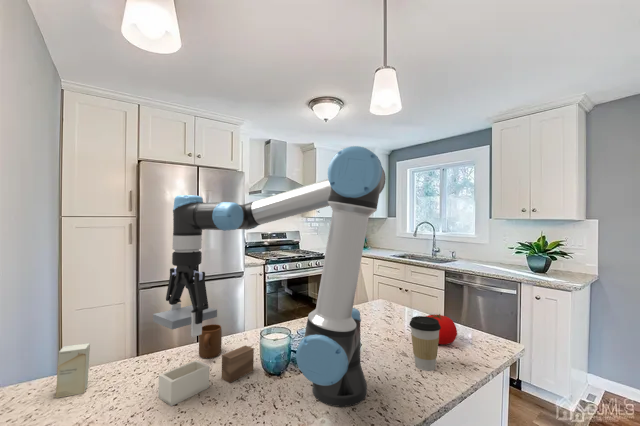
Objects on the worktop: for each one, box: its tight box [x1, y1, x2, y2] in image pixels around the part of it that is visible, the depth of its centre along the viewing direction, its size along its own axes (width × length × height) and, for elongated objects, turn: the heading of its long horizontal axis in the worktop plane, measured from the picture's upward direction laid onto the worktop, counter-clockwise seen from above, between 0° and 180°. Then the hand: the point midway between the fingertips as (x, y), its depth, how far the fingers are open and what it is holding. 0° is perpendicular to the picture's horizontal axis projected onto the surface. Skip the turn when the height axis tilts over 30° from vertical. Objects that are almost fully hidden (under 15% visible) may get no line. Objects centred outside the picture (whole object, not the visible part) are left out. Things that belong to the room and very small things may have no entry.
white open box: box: [157, 359, 211, 407], centre depth 83 cm, size 6×11×6 cm, turn 144°
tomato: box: [425, 313, 458, 346], centre depth 120 cm, size 14×13×10 cm
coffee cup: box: [409, 315, 441, 372], centre depth 99 cm, size 10×10×15 cm
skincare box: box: [55, 342, 91, 399], centre depth 83 cm, size 6×4×12 cm
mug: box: [198, 324, 223, 359], centre depth 105 cm, size 12×8×9 cm, turn 9°
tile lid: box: [152, 304, 218, 330], centre depth 84 cm, size 10×13×2 cm
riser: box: [220, 345, 255, 384], centre depth 93 cm, size 4×9×7 cm, turn 144°
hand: (185, 331), depth 83 cm, fingers closed on tile lid, 10 cm apart
